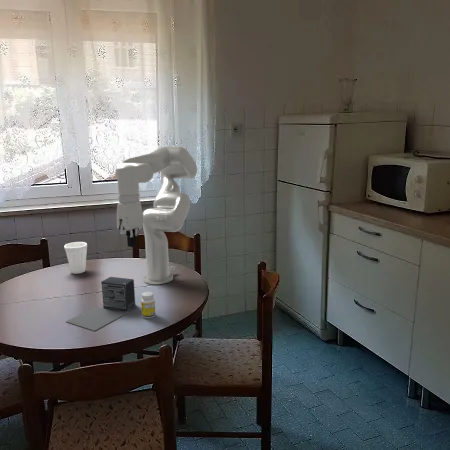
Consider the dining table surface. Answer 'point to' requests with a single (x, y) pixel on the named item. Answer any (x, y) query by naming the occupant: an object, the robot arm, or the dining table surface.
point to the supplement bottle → (148, 305)
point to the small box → (118, 293)
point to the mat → (95, 318)
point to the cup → (76, 256)
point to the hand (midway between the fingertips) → (132, 246)
